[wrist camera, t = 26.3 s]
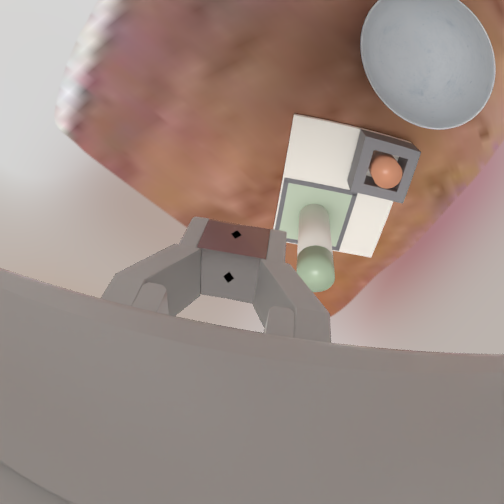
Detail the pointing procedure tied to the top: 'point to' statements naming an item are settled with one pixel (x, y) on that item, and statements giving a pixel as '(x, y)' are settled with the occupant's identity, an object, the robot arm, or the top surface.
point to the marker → (315, 248)
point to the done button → (384, 170)
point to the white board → (340, 181)
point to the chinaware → (428, 60)
